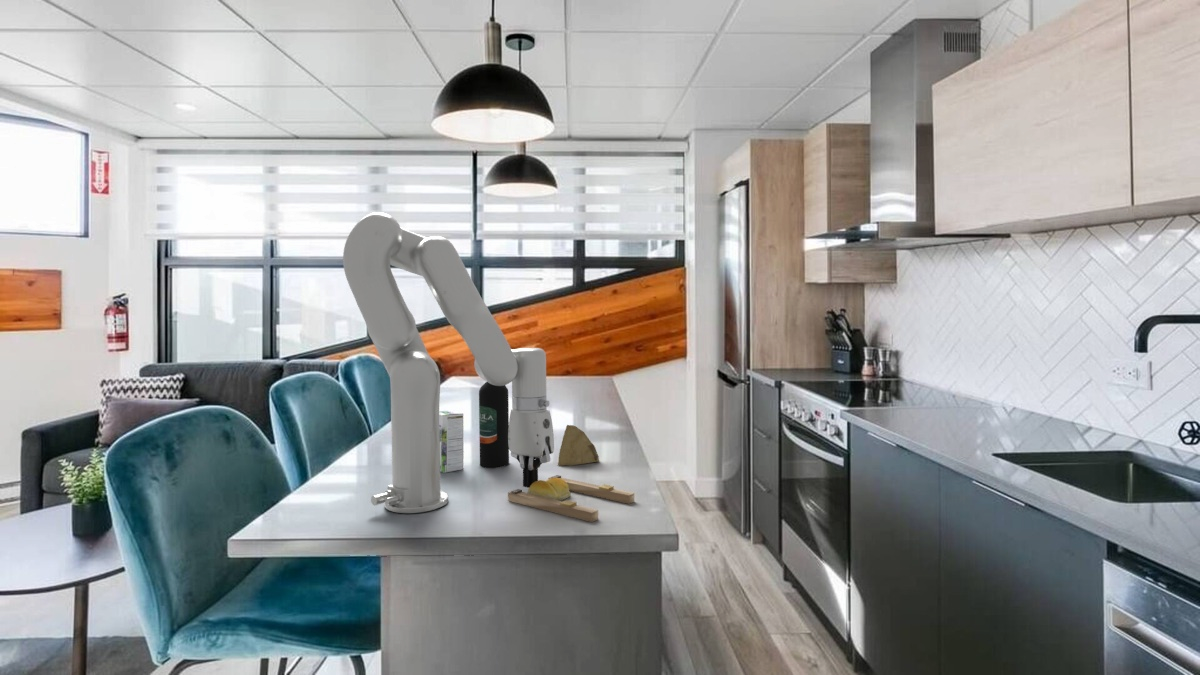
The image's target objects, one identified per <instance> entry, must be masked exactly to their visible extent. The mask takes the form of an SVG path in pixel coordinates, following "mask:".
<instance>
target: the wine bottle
mask: <svg viewBox="0 0 1200 675" xmlns="http://www.w3.org/2000/svg"><path fill="white" fill-rule="evenodd" d="M509 405H510V404H509V389H508V387H507V386H506V385H504V386H495V385H492V384H490V383H489V382H487V381H485V383H483V384H482V385H481V387H480V388H479V390H478V419H479V420H478V425H479V429H478V431H479V432H478V433H479V437H478V438H479V466H480V467H481V466H482V468H485V467H486V468H487V469H498V468H503V467H507V466H509V464H510V450H509V446H508V429H509V419H510V414H509V410H510V409H509V407H510V406H509Z"/></svg>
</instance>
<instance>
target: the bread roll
mask: <svg viewBox="0 0 1200 675" xmlns="http://www.w3.org/2000/svg"><path fill="white" fill-rule="evenodd" d="M549 478H550V477H549ZM527 490H528V491H527V493H529V494H534V495H538V496H542V497H546V498H550V499H554V500H559V501H563V499H564V500H567V499H569V498H570V496H571V491H569V486H568V484H567V483H566V482H565V481H564V480H563V479H560V478H550V479H547V480H539V479H538V481H535V482H534V483H532V484H531V486H530V487H529V488H528V489H527ZM566 498H567V499H566Z"/></svg>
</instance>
